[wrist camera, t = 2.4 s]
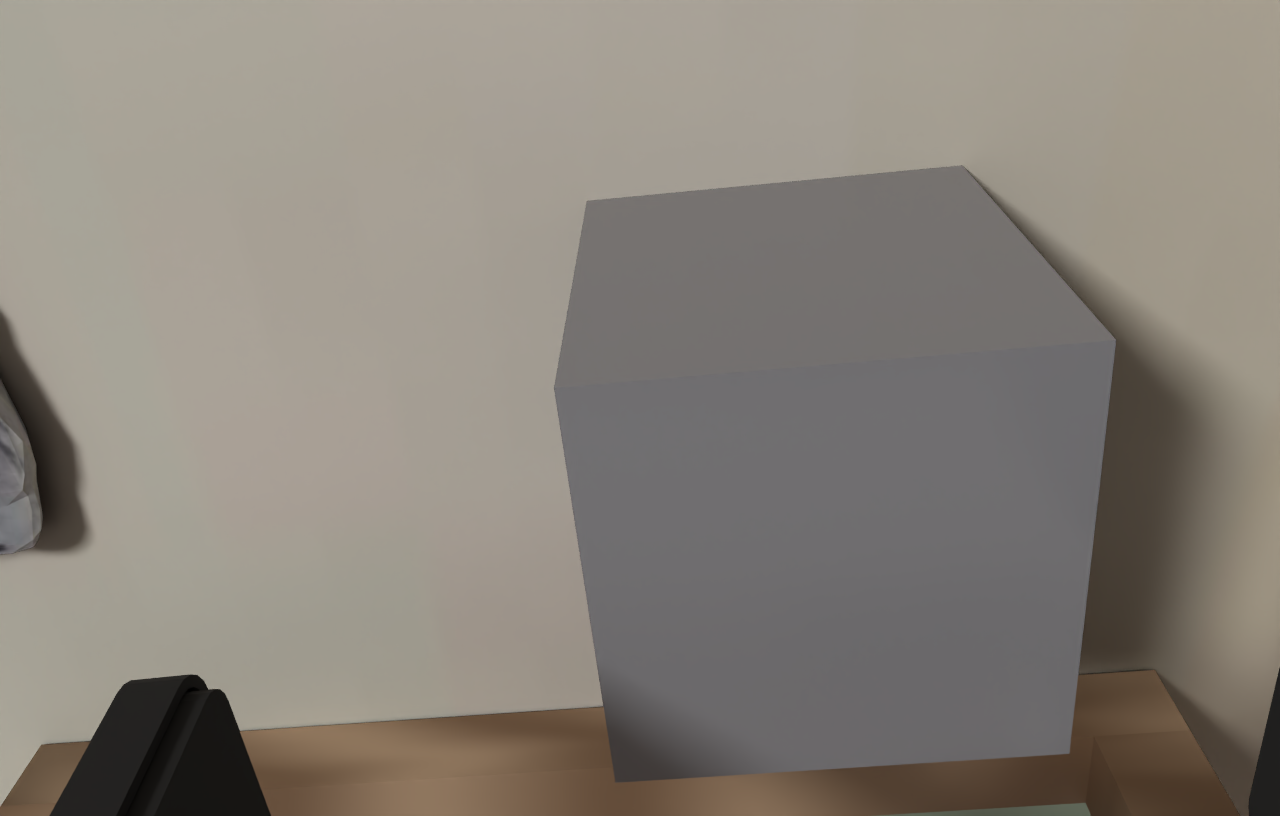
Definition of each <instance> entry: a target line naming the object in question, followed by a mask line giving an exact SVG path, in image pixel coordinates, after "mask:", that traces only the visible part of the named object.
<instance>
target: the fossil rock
mask: <svg viewBox="0 0 1280 816" xmlns="http://www.w3.org/2000/svg"><path fill="white" fill-rule="evenodd" d="M42 520H43V515H42V508H41V502H40V496H39V489H38V483H37V477H36V462H35V459H34V455H33V452H32V448H31V445H30V441H29V438H28V435H27V431H26V428H25V425H24V423H23V421H22V420H21V418H20V416H19V414H18V412H17V410H16V408H15V406H14V404H13V402H12V400H11V398H10V396H9V395H8V393H7V391H6V389H5V387H4V385H3V383H2V381H1V378H0V554H12V553H16V552H19V551H22V550H25V549H29V548H32V547H34V546H35V544H36V543H37V541H38V539H39V536H40V532H41V528H42Z"/></svg>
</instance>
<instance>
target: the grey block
mask: <svg viewBox="0 0 1280 816" xmlns="http://www.w3.org/2000/svg"><path fill="white" fill-rule="evenodd" d="M1115 347H1116V339H1115V338H1114V337H1113V336H1112V335H1111V334H1110V332H1109V331H1108V330H1107V329H1106V328H1105V327H1104V326H1103V324H1102V323H1101V322H1100V321H1099V320H1098V319H1097V318H1096V316H1095V315H1094V314H1093V313H1092V312H1091V311H1090V310H1089V309H1088V307H1087V306H1086V305H1085V304H1084V303H1083V302H1082V301H1081V299H1080V298H1079V297H1078V296H1077V295H1076V294H1075V293H1074V292H1073V290H1072V289H1071V288H1070V287H1069V286H1068V285H1067V284H1066V282H1065V281H1064V280H1063V279H1062V278H1061V277H1060V276H1059V275H1058V273H1057V272H1056V271H1055V270H1054V269H1053V268H1052V267H1051V265H1050V264H1049V263H1048V262H1047V261H1046V260H1045V259H1044V257H1043V256H1042V255H1041V254H1040V253H1039V252H1038V251H1037V250H1036V248H1035V247H1034V246H1033V245H1032V244H1031V243H1030V242H1029V240H1028V239H1027V238H1026V237H1025V236H1024V235H1023V234H1022V233H1021V231H1020V230H1019V229H1018V228H1017V227H1016V226H1015V225H1014V223H1013V222H1012V221H1011V220H1010V219H1009V218H1008V217H1007V216H1006V214H1005V213H1004V212H1003V211H1002V210H1001V209H1000V208H999V206H998V205H997V204H996V203H995V202H994V201H993V200H992V198H991V197H990V196H989V195H988V194H987V193H986V192H985V191H984V189H983V188H982V187H981V186H980V185H979V184H978V183H977V181H976V180H975V179H974V178H973V177H972V176H971V175H970V174H969V172H968V171H967V170H966V169H965V168H964V167H963V166H962V165H961V166H951V167H940V168H930V169H919V170H909V171H898V172H887V173H877V174H866V175H856V176H845V177H835V178H824V179H814V180H803V181H792V182H782V183H771V184H761V185H750V186H740V187H729V188H719V189H708V190H697V191H687V192H676V193H666V194H655V195H645V196H634V197H624V198H613V199H602V200H592V201H587V203H586V209H585V215H584V220H583V226H582V232H581V237H580V243H579V249H578V255H577V260H576V266H575V272H574V277H573V283H572V289H571V294H570V300H569V306H568V311H567V317H566V323H565V329H564V334H563V340H562V346H561V351H560V357H559V363H558V368H557V374H556V380H555V385H554V391H555V397H556V404H557V410H558V416H559V423H560V429H561V436H562V442H563V449H564V455H565V462H566V468H567V474H568V481H569V487H570V494H571V500H572V507H573V513H574V520H575V526H576V532H577V539H578V545H579V552H580V558H581V565H582V571H583V577H584V584H585V590H586V597H587V603H588V610H589V616H590V623H591V629H592V635H593V642H594V648H595V655H596V661H597V668H598V674H599V681H600V687H601V693H602V700H603V706H604V713H605V719H606V726H607V732H608V738H609V745H610V751H611V758H612V764H613V771H614V777H615V783H621V782H636V781H652V780H668V779H683V778H699V777H715V776H730V775H746V774H762V773H777V772H793V771H808V770H824V769H840V768H855V767H871V766H887V765H902V764H918V763H934V762H949V761H965V760H981V759H996V758H1012V757H1028V756H1043V755H1059V754H1069V752H1070V743H1071V734H1072V725H1073V717H1074V708H1075V699H1076V690H1077V681H1078V673H1079V664H1080V655H1081V646H1082V637H1083V629H1084V620H1085V611H1086V602H1087V593H1088V585H1089V576H1090V567H1091V558H1092V549H1093V541H1094V532H1095V523H1096V514H1097V505H1098V497H1099V488H1100V479H1101V470H1102V461H1103V453H1104V444H1105V435H1106V426H1107V417H1108V409H1109V400H1110V391H1111V382H1112V373H1113V365H1114V356H1115Z"/></svg>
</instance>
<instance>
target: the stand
mask: <svg viewBox="0 0 1280 816" xmlns="http://www.w3.org/2000/svg"><path fill="white" fill-rule="evenodd" d="M240 733H241V736H242V739H243V741H244V744H245V747H246V750H247V752H248V755H249V758H250V760H251V763H252V766H253V768H254V771H255V774H256V776H257V779H258V782H259V784H260V787H261V790H262V792H263V795H264V798H265V801H266V803H267V806H268V809H269V811H270V814H271V816H877V815H894V814H910V813H927V812H943V811H960V810H976V809H993V808H1009V807H1026V806H1042V805H1059V804H1075V803H1086V805H1087V807H1088V809H1089V812H1090V814H1091V816H1240V815H1239V813H1238V811H1237V809H1236V808H1235V806H1234V804H1233V803H1232V801H1231V799H1230V797H1229V796H1228V794H1227V792H1226V791H1225V789H1224V787H1223V785H1222V784H1221V782H1220V780H1219V779H1218V777H1217V775H1216V774H1215V772H1214V770H1213V768H1212V767H1211V765H1210V763H1209V762H1208V760H1207V758H1206V756H1205V755H1204V753H1203V751H1202V750H1201V748H1200V746H1199V745H1198V743H1197V741H1196V739H1195V738H1194V736H1193V734H1192V733H1191V731H1190V729H1189V727H1188V726H1187V724H1186V722H1185V721H1184V719H1183V717H1182V716H1181V714H1180V712H1179V710H1178V709H1177V707H1176V705H1175V704H1174V702H1173V700H1172V698H1171V697H1170V695H1169V693H1168V692H1167V690H1166V688H1165V686H1164V685H1163V683H1162V681H1161V680H1160V678H1159V676H1158V675H1157V673H1156V671H1155V670H1146V671H1131V672H1116V673H1101V674H1086V675H1078V681H1077V690H1076V699H1075V708H1074V717H1073V725H1072V734H1071V743H1070V752H1069V754H1059V755H1043V756H1028V757H1012V758H996V759H981V760H965V761H949V762H934V763H918V764H902V765H887V766H871V767H855V768H840V769H824V770H808V771H793V772H777V773H762V774H746V775H730V776H715V777H699V778H683V779H668V780H652V781H636V782H621V783H615V777H614V771H613V764H612V758H611V751H610V745H609V738H608V732H607V726H606V719H605V713H604V707H595V708H580V709H565V710H551V711H536V712H521V713H506V714H491V715H476V716H461V717H446V718H431V719H417V720H402V721H387V722H372V723H357V724H342V725H327V726H312V727H298V728H283V729H268V730H253V731H240ZM89 743H90V741H89V742H74V743H60V744H45V745H41V746H40V748H39V749H38V751H37V752H36V754H35V755H34V757H33V758H32V760H31V761H30V763H29V764H28V766H27V767H26V769H25V770H24V772H23V773H22V775H21V776H20V778H19V779H18V781H17V782H16V784H15V785H14V787H13V788H12V790H11V791H10V793H9V794H8V796H7V797H6V799H5V801H4V802H3V804H2V805H1V807H0V816H49V815H50V814H51V812H52V810H53V808H54V806H55V805H56V803H57V801H58V799H59V797H60V796H61V794H62V792H63V790H64V788H65V787H66V785H67V783H68V781H69V779H70V777H71V776H72V774H73V772H74V770H75V768H76V767H77V765H78V763H79V761H80V759H81V758H82V756H83V754H84V752H85V750H86V749H87V747H88V745H89Z"/></svg>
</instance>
